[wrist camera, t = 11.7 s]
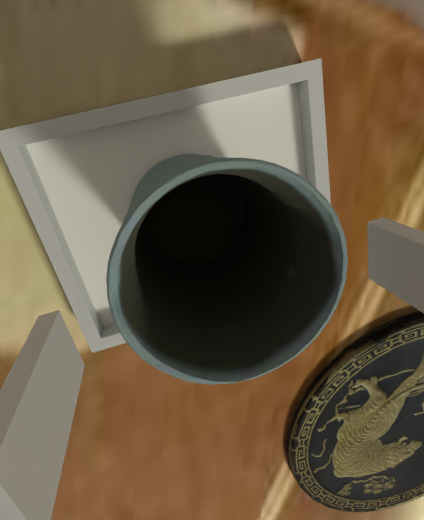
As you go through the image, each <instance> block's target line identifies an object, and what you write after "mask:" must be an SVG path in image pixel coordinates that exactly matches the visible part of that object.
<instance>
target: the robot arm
mask: <svg viewBox="0 0 424 520" xmlns="http://www.w3.org/2000/svg"><path fill="white" fill-rule="evenodd" d="M367 228H368V266H369V279H371V280H372V281H374V282H375V283H377V284H379V285H380V286H382V287H383V288H385V289H386V290H388V291H389V292H391V293H393V294H394V295H396V296H397V297H399V298H400V299H402V300H403V301H405V302H407V303H408V304H410V305H411V306H413V307H414V308H416V309H417V310H419V311H421V312H422V313H424V232H423V231H420V230H417V229H414V228H411V227H409V226H406V225H403V224H400V223H397V222H395V221H392V220H389V219H386V218H380V219H376V220H373V221H369V222H367ZM84 366H85V365H84V363H83V361H82V359H81V356H80V354H79V352H78V350H77V348H76V346H75V344H74V341H73V339H72V337H71V335H70V333H69V331H68V329H67V326H66V324H65V322H64V320H63V318H62V316H61V314H60V311H55V312H52V313H48V314H45V315H41V316H39V317H38V319H37V321H36V323H35V324H34V326H33V328H32V330H31V332H30V334H29V336H28V338H27V340H26V342H25V344H24V346H23V347H22V349H21V351H20V353H19V355H18V357H17V359H16V361H15V363H14V365H13V367H12V368H11V370H10V372H9V374H8V376H7V378H6V380H5V382H4V384H3V386H2V388H1V389H0V520H51V516H52V512H53V507H54V503H55V498H56V494H57V489H58V485H59V480H60V476H61V471H62V466H63V462H64V457H65V453H66V448H67V444H68V439H69V435H70V430H71V425H72V421H73V416H74V412H75V407H76V403H77V398H78V394H79V389H80V385H81V380H82V375H83V371H84Z"/></svg>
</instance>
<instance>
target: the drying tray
mask: <svg viewBox="0 0 424 520" xmlns="http://www.w3.org/2000/svg"><path fill="white" fill-rule="evenodd" d="M0 151H1V153H2V155H3V157H4V160H5V162H6V164H7V166H8V169H9V171H10V173H11V175H12V177H13V180H14V182H15V184H16V186H17V188H18V191H19V193H20V195H21V197H22V199H23V202H24V204H25V206H26V208H27V210H28V213H29V215H30V217H31V219H32V221H33V224H34V226H35V228H36V230H37V232H38V235H39V237H40V239H41V241H42V243H43V246H44V248H45V250H46V252H47V254H48V257H49V259H50V261H51V263H52V265H53V268H54V270H55V272H56V274H57V276H58V279H59V281H60V283H61V285H62V287H63V290H64V292H65V294H66V296H67V299H68V301H69V303H70V305H71V307H72V310H73V312H74V314H75V316H76V318H77V321H78V323H79V325H80V327H81V329H82V332H83V334H84V336H85V338H86V340H87V343H88V345H89V347H90V349H91V351H92V353H93V352H97V351H100V350H103V349H107V348H110V347H114V346H117V345H120V344H124V343H126V341H125V340H124V338H123V337H122V335H121V333H120V332H119V330H118V328H117V326H116V324H115V322H114V319H113V317H112V314H111V310H110V306H109V302H108V298H107V282H106V276H107V267H108V261H109V256H110V252H111V249H112V247H113V244H114V241H115V238H116V236H117V234H118V232H119V229H120V227H121V225H122V223H123V221H124V218H125V215H126V214H127V213H128V209H129V205H130V203H131V199H132V196H133V194H134V191H135V189H136V187H137V185H138V183H139V182H140V180H141V179H142V178H143V176H144V175H145V174H146V173H147V172H148V171H149V170H150V169H151V168H152V167H154V166H155V165H157V164H158V163H159V162H161V161H163V160H165V159H167V158H170V157H174V156H177V155H182V154H200V155H209V156H213V157H216V158H250V159H258V160H263V161H267V162H271V163H275V164H277V165H280V166H283V167H285V168H287V169H289V170H291V171H293V172H295V173H297V174H299V175H301V176H302V177H304V178H305V179H306V180H307V181H308V182H310V183H311V184H312V185H313V186H314V187H315V188H316V189H317V190H318V191H319V192H320V193H321V194H322V195H323V196H324V197H325V198H326V199H327V200H328V202H329V203H330V205H331V202H330V186H329V171H328V155H327V139H326V124H325V108H324V92H323V77H322V61H321V59H317V60H312V61H308V62H303V63H299V64H294V65H290V66H285V67H281V68H277V69H272V70H268V71H263V72H259V73H254V74H250V75H245V76H241V77H236V78H232V79H228V80H223V81H219V82H214V83H210V84H205V85H201V86H196V87H192V88H187V89H183V90H179V91H174V92H170V93H165V94H161V95H156V96H152V97H147V98H143V99H138V100H134V101H130V102H125V103H121V104H116V105H112V106H107V107H103V108H98V109H94V110H89V111H85V112H81V113H76V114H72V115H67V116H63V117H58V118H54V119H49V120H45V121H40V122H36V123H32V124H27V125H23V126H18V127H14V128H9V129H5V130H0Z"/></svg>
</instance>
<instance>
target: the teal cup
mask: <svg viewBox="0 0 424 520" xmlns="http://www.w3.org/2000/svg"><path fill="white" fill-rule="evenodd" d="M347 263H348V259H347V248H346V238H345V235H344V232H343V229H342V226H341V224H340V221H339V218H338V216H337V214H336V213H335V211H334V209H333V208H332V206H331V205H330V203H329V202H328V200H327V199H326V198H325V197H324V196H323V195H322V194H321V193H320V192H319V191H318V190H317V189H316V188H315V187H314V186H313V185H312V184H311V183H310V182H308V181H307V180H306V179H305V178H304V177H302V176H301V175H299V174H297V173H295V172H293V171H291V170H289V169H287V168H285V167H283V166H280V165H277V164H275V163H271V162H267V161H263V160H258V159H250V158H216V157H213V156H209V155H200V154H182V155H177V156H174V157H170V158H167V159H165V160H163V161H161V162H159V163H158V164H157V165H155V166H154V167H152V168H151V169H150V170H149V171H148V172H147V173H146V174H145V175H144V176H143V178H142V179H141V180H140V182H139V183H138V185H137V187H136V189H135V191H134V194H133V196H132V199H131V203H130V205H129V209H128V213H127V214H126V215H125V218H124V221H123V223H122V225H121V227H120V229H119V232H118V234H117V236H116V238H115V241H114V244H113V247H112V249H111V252H110V256H109V261H108V267H107V276H106V282H107V298H108V302H109V306H110V310H111V314H112V317H113V319H114V322H115V324H116V326H117V328H118V330H119V332H120V333H121V335H122V337H123V338H124V340H125V341H126V343H127V344H128V345H129V346H130V347H131V348H132V349H133V350H134V351H135V353H136V354H137V355H138V356H139V357H140V358H142V359H143V360H144V361H146V362H147V363H148V364H150V365H152V366H153V367H155V368H157V369H159V370H161V371H163V372H165V373H167V374H169V375H171V376H174V377H176V378H179V379H182V380H185V381H190V382H195V383H202V384H226V383H236V382H240V381H245V380H249V379H253V378H256V377H259V376H262V375H265V374H267V373H269V372H271V371H273V370H275V369H277V368H279V367H281V366H282V365H284V364H285V363H287V362H288V361H290V360H292V359H293V358H294V357H296V356H297V355H298V354H299V353H301V352H302V351H303V350H304V349H305V348H307V347H308V346H309V345H310V344H311V343H312V341H313V340H314V339H315V338H316V337H317V336H318V335H319V334H320V332H321V331H322V330H323V328H324V327H325V326H326V324H327V323H328V321H329V320H330V318H331V316H332V314H333V313H334V311H335V309H336V307H337V304H338V302H339V299H340V297H341V294H342V291H343V288H344V284H345V281H346V272H347Z"/></svg>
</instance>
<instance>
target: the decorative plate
mask: <svg viewBox="0 0 424 520" xmlns="http://www.w3.org/2000/svg"><path fill="white" fill-rule="evenodd" d="M286 451H287V457H288V462H289V467H290V469H291V471H292V473H293V475H294V477H295V478H296V480H297V482H298V484H299V485H300V487H301V488H302V489H303V490H304V491H305V492H306V493H307V494H308V495H309V496H310V497H311V498H312V499H313V500H315V501H317V502H319V503H321V504H323V505H324V506H326V507H329V508H333V509H337V510H341V511H348V512H368V511H378V510H383V509H387V508H392V507H396V506H400V505H402V504H405V503H408V502H411V501H413V500H416V499H419V498H421V497H423V496H424V313H422V312H421V311H418V312H415V313H412V314H409V315H406V316H402V317H399V318H396V319H394V320H392V321H390V322H388V323H386V324H384V325H382V326H380V327H378V328H376V329H374V330H372V331H370V332H368V333H367V334H365V335H364V336H362V337H361V338H359V339H358V340H356V341H355V342H354V343H352V344H351V345H349V346H348V347H346V348H345V349H344V350H343V351H342V352H341V353H339V354H338V355H337V356H336V357H335V358H334V359H333V360H332V361H331V362H330V363H329V364H327V365H326V366H325V367H324V368H323V370H322V371H321V372H320V373H319V375H318V376H317V377H316V378H315V379H314V381H313V382H312V383H311V384H310V386H309V387H308V388H307V390H306V391H305V393H304V395H303V397H302V398H301V400H300V402H299V404H298V406H297V407H296V409H295V411H294V414H293V417H292V420H291V423H290V426H289V429H288V436H287V446H286Z"/></svg>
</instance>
